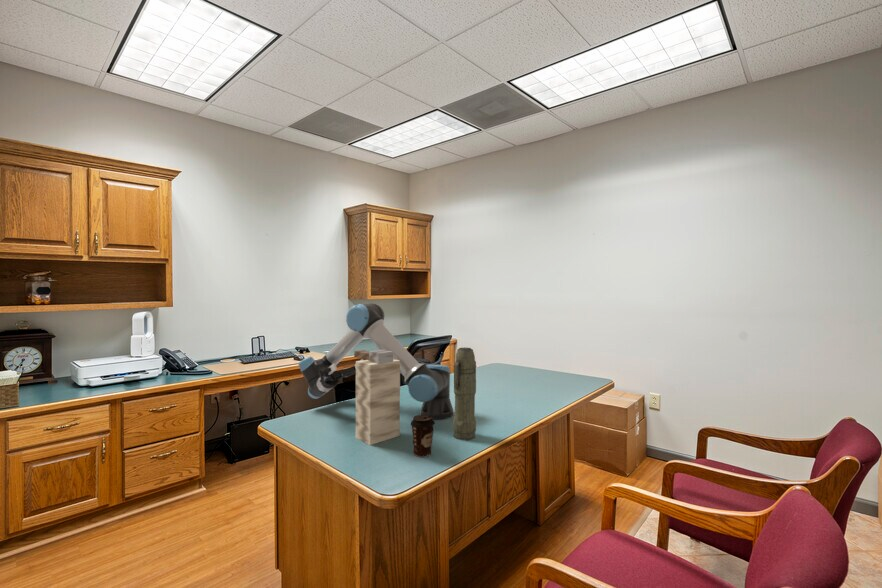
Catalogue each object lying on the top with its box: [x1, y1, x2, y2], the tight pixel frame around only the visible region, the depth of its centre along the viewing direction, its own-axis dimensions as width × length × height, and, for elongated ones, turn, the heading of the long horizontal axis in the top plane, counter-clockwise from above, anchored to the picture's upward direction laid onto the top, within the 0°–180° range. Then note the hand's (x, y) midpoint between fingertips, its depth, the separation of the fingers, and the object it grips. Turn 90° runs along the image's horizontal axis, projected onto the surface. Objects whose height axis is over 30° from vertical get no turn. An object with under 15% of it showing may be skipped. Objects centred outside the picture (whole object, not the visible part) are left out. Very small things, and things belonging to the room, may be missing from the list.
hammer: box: [353, 349, 393, 364], centre depth 165 cm, size 19×7×4 cm, turn 44°
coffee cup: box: [410, 414, 436, 458], centre depth 146 cm, size 9×8×13 cm
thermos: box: [452, 347, 477, 441], centre depth 163 cm, size 9×12×35 cm
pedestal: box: [354, 359, 401, 446], centre depth 162 cm, size 10×14×30 cm
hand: (349, 363), depth 176 cm, fingers open, 13 cm apart
